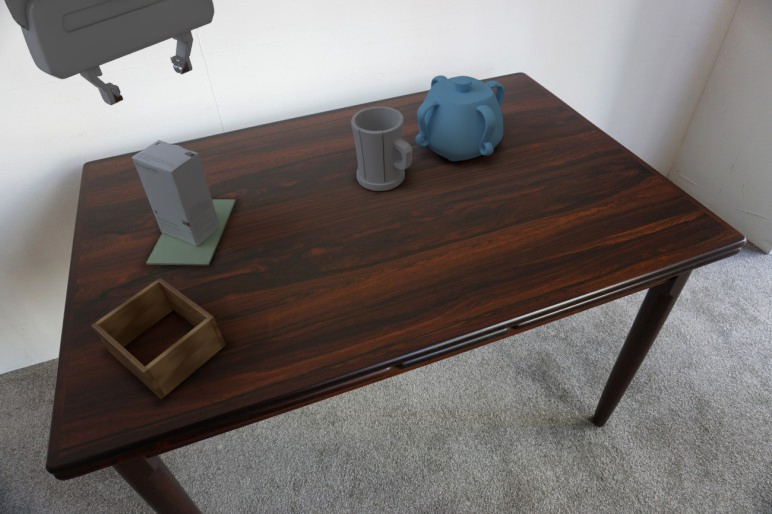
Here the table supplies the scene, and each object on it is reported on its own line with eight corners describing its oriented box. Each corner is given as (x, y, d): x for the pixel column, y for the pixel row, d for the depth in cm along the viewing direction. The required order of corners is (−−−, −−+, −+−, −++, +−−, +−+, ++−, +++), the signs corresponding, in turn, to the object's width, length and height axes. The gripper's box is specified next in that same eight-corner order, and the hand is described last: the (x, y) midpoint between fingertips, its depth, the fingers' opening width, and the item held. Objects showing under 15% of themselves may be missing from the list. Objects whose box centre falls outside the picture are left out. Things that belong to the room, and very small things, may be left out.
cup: (415, 164, 98) (415, 106, 90) (412, 194, 92) (411, 134, 83) (360, 163, 99) (354, 105, 91) (353, 192, 93) (347, 133, 84)
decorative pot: (510, 132, 105) (519, 66, 95) (488, 175, 95) (496, 107, 85) (434, 118, 110) (435, 54, 101) (405, 158, 100) (404, 91, 90)
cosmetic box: (161, 233, 86) (126, 157, 76) (186, 212, 90) (156, 137, 79) (199, 248, 83) (169, 171, 73) (224, 226, 87) (198, 149, 76)
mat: (209, 265, 81) (208, 263, 81) (146, 264, 82) (145, 263, 81) (235, 201, 92) (235, 199, 92) (181, 200, 93) (180, 199, 93)
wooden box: (161, 399, 64) (143, 372, 60) (110, 353, 70) (90, 325, 66) (226, 345, 70) (213, 316, 66) (174, 305, 75) (160, 277, 71)
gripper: (10, -15, 44) (81, 131, 54) (204, -66, 56) (234, 62, 65) (-22, -26, 47) (50, 114, 56) (169, -72, 58) (203, 51, 68)
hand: (150, 86), depth 61 cm, fingers open, 8 cm apart
